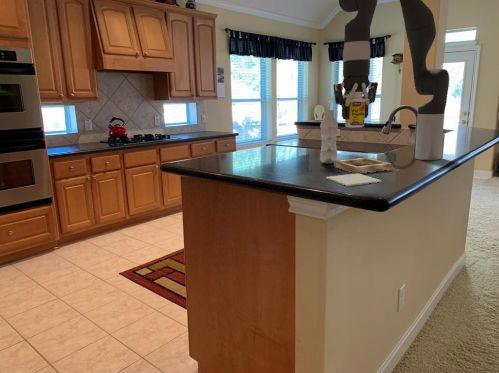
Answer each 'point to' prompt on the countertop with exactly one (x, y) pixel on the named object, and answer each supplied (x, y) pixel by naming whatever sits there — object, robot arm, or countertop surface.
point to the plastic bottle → (328, 138)
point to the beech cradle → (370, 166)
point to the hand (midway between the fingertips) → (354, 118)
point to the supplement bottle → (356, 111)
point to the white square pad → (353, 179)
